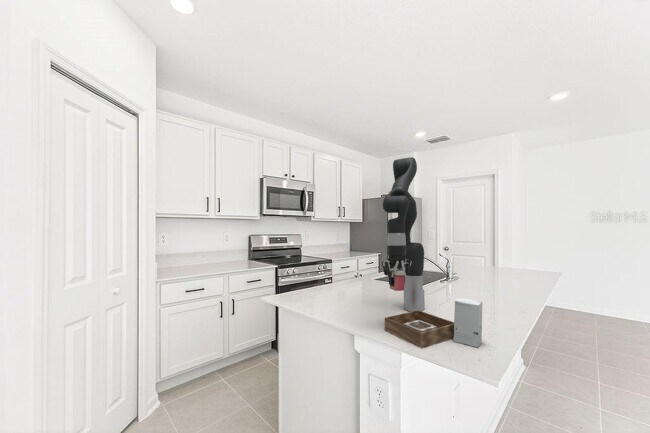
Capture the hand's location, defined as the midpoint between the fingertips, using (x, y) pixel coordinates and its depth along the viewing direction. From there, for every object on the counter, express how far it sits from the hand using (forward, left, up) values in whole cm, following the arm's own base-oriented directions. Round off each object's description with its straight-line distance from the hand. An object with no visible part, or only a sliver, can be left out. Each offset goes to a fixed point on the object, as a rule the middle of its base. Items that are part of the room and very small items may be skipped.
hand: (397, 285), depth 116 cm
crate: (-3, +9, -17) cm, 20 cm away
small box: (0, 0, -2) cm, 2 cm away
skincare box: (-12, +23, -18) cm, 32 cm away
